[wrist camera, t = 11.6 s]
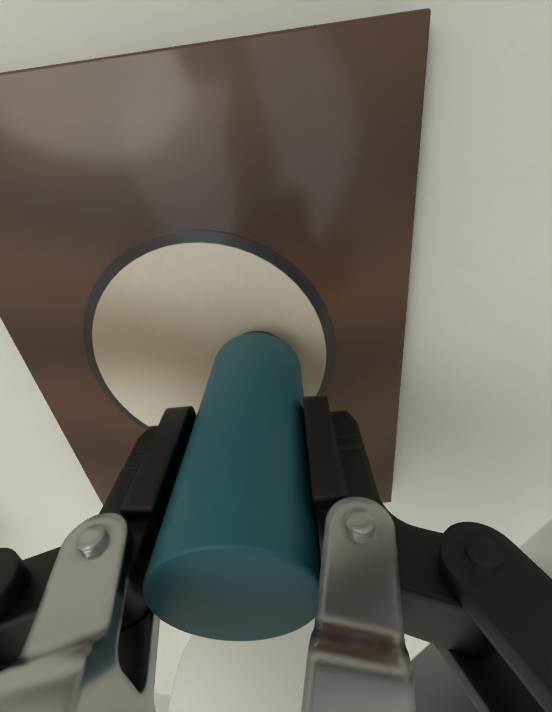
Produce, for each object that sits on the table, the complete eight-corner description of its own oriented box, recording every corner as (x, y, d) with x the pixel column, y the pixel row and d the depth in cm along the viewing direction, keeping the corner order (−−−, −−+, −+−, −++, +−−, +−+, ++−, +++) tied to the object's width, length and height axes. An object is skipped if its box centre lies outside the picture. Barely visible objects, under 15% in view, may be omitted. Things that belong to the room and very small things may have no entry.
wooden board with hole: (-93, 96, 11) (-132, 89, 10) (418, 19, 10) (435, 3, 9) (117, 505, 21) (109, 523, 20) (386, 487, 20) (392, 505, 19)
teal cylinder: (209, 325, 13) (114, 553, 6) (296, 316, 13) (321, 541, 5) (225, 395, 15) (168, 645, 7) (302, 388, 15) (327, 639, 7)
